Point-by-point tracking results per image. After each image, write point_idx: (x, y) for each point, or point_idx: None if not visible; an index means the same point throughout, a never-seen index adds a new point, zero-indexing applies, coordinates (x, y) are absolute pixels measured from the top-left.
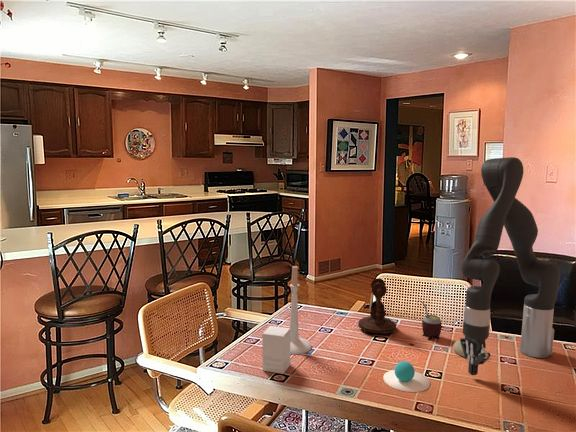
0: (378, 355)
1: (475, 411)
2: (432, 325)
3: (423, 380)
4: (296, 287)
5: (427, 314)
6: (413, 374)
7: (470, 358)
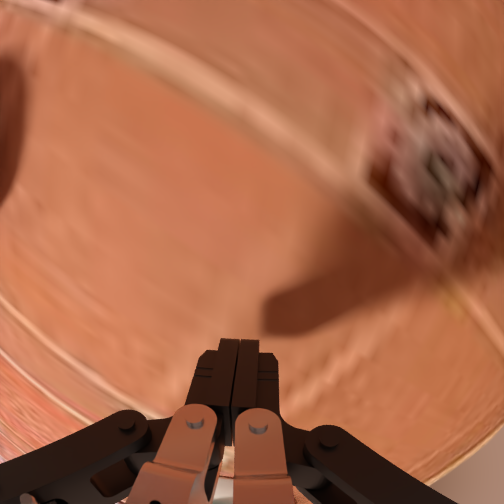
0: None
1: (463, 427)
2: None
3: (229, 488)
4: None
5: None
6: None
7: (216, 475)
